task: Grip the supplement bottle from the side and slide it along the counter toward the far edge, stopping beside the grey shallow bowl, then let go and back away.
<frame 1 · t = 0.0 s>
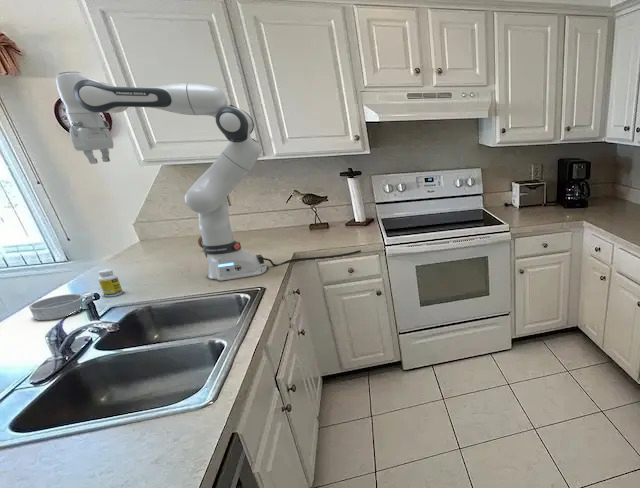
hand: (100, 162, 153), 48 cm above the worktop, tool pointing down, fingers open, 8 cm apart
tin: (217, 248, 220), on the worktop
supplement bottle: (114, 294, 160), on the worktop
grey shallow bowl: (62, 312, 144), on the worktop
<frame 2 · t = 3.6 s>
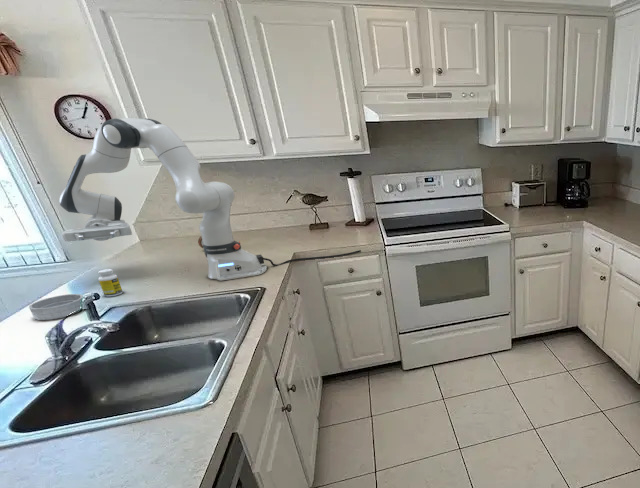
hand: (97, 236, 160), 21 cm above the worktop, tool horizontal, fingers open, 8 cm apart
nothing on the worktop moved.
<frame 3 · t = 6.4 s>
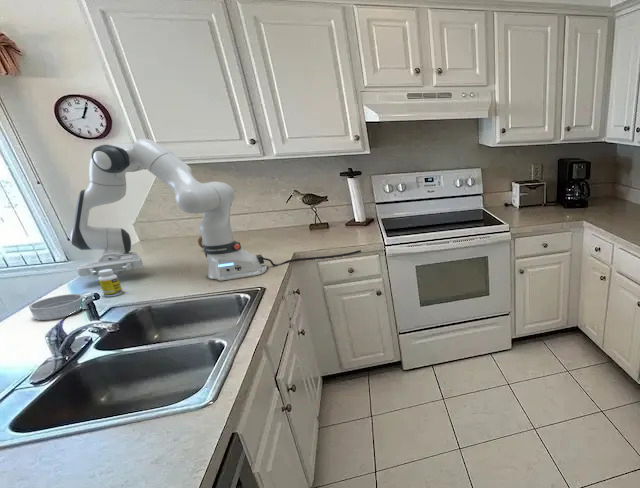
hand: (110, 271, 165), 7 cm above the worktop, tool horizontal, fingers open, 8 cm apart
nothing on the worktop moved.
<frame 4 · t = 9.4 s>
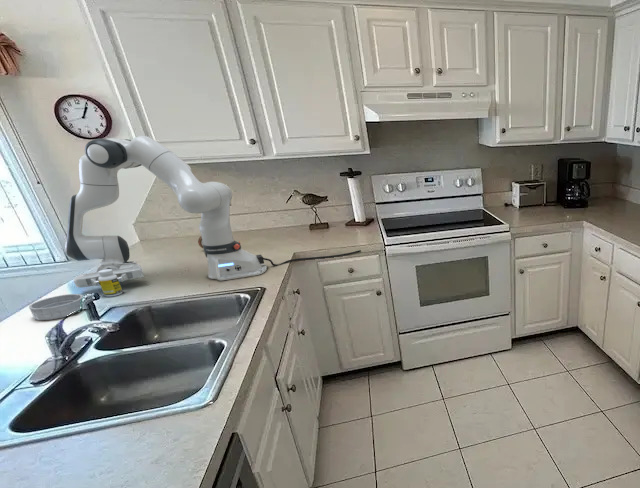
hand: (109, 281, 157), 6 cm above the worktop, tool horizontal, fingers closed on supplement bottle, 5 cm apart
supplement bottle: (114, 294, 160), on the worktop, touching gripper
everything else where it was.
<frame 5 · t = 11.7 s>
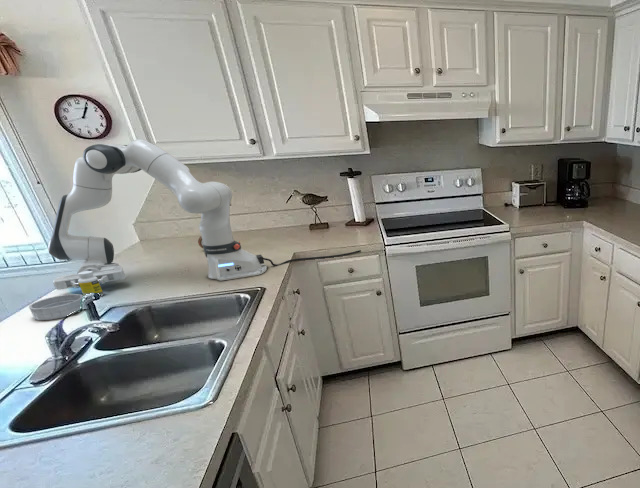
hand: (89, 283, 155), 6 cm above the worktop, tool horizontal, fingers closed on supplement bottle, 5 cm apart
supplement bottle: (94, 296, 158), on the worktop, touching gripper
everything else where it was.
when the fingers open (6 cm above the worktop, at t = 14.2 s): supplement bottle stays where it is, on the worktop.
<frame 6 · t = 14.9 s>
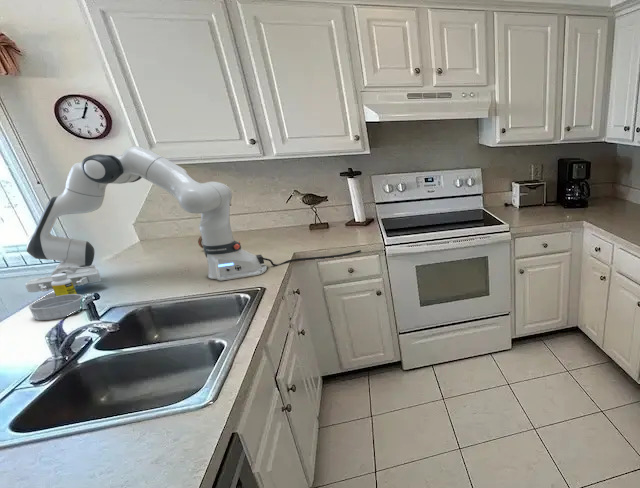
hand: (62, 286, 152), 6 cm above the worktop, tool horizontal, fingers open, 8 cm apart
supplement bottle: (68, 299, 155), on the worktop
everything else where it was.
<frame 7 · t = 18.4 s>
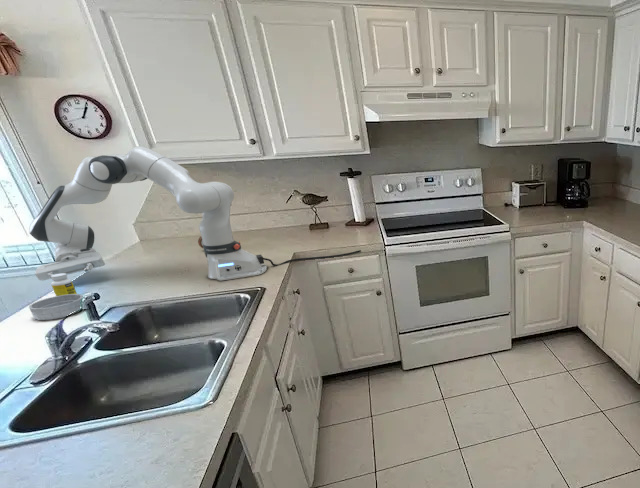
hand: (71, 274, 162), 6 cm above the worktop, tool horizontal, fingers open, 8 cm apart
nothing on the worktop moved.
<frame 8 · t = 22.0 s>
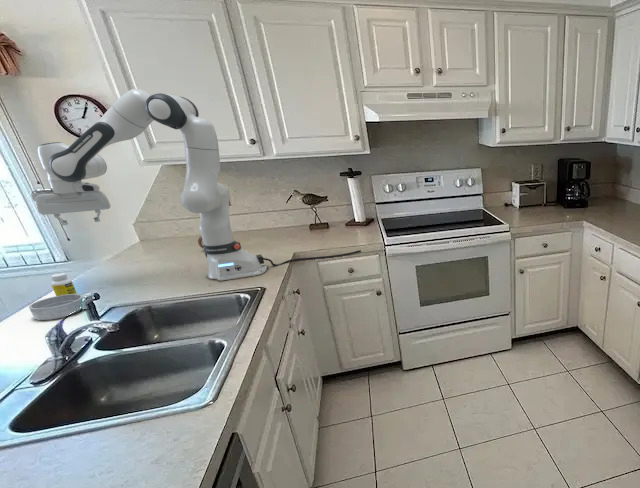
hand: (81, 223, 163), 25 cm above the worktop, tool pointing down, fingers open, 8 cm apart
nothing on the worktop moved.
at the end: supplement bottle inside the target area (0.6 cm from its centre), on the worktop; supplement bottle 15.8 cm from the grey shallow bowl (horizontally); supplement bottle tilted 0° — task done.
